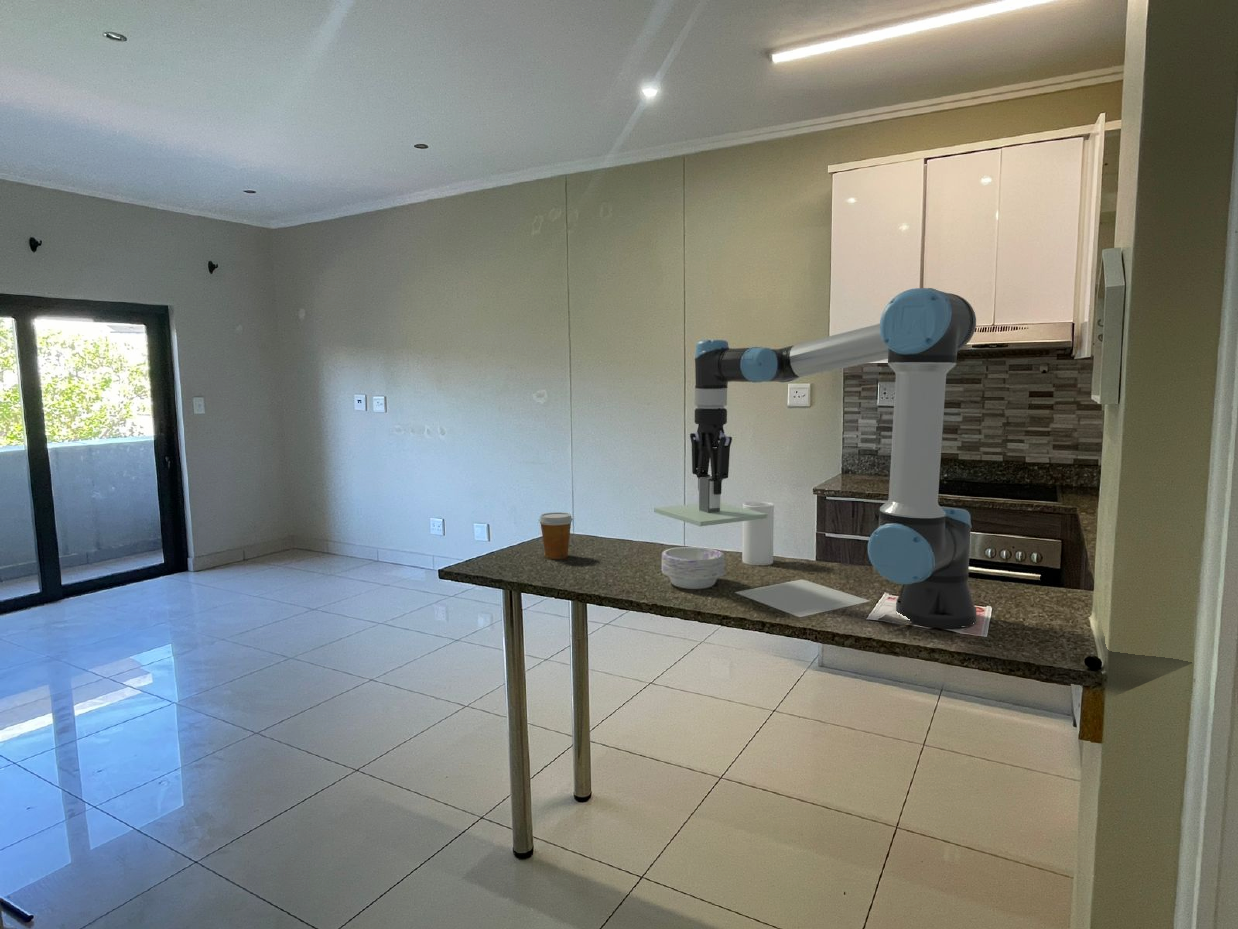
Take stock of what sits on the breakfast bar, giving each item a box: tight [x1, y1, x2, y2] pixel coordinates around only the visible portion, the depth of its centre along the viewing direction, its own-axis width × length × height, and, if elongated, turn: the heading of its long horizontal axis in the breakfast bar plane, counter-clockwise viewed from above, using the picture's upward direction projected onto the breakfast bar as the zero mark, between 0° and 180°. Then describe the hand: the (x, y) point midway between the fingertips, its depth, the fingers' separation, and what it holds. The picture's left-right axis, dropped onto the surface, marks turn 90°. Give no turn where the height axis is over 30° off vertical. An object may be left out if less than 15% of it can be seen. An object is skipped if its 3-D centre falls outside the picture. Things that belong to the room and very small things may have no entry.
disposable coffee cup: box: [538, 512, 573, 560], centre depth 202 cm, size 10×10×12 cm
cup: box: [741, 501, 775, 566], centre depth 193 cm, size 8×8×16 cm
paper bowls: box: [661, 546, 726, 590], centre depth 172 cm, size 15×15×8 cm
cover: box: [653, 475, 767, 527], centre depth 169 cm, size 19×19×9 cm
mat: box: [734, 579, 871, 618], centre depth 161 cm, size 21×21×1 cm
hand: (709, 506), depth 169 cm, fingers closed on cover, 3 cm apart
